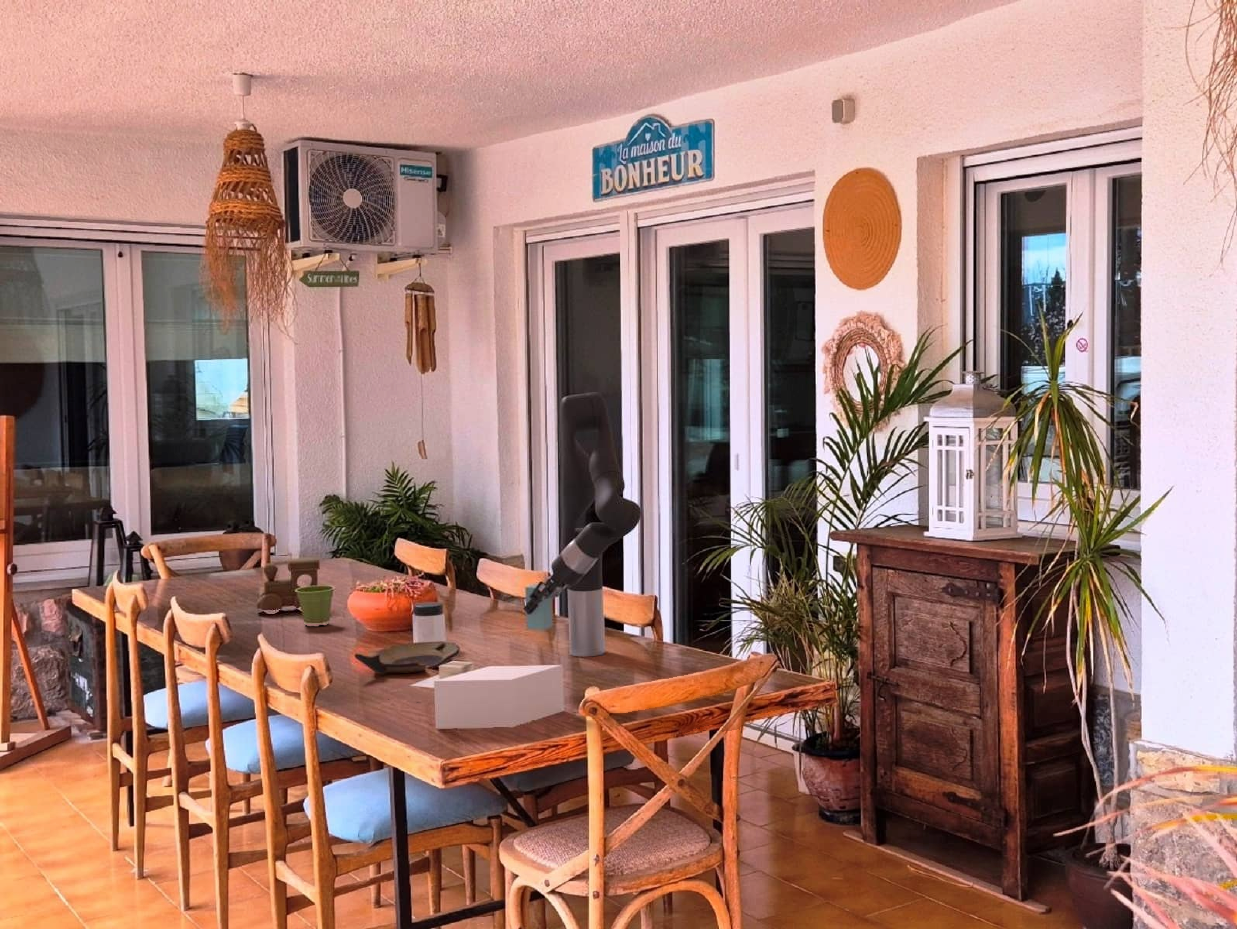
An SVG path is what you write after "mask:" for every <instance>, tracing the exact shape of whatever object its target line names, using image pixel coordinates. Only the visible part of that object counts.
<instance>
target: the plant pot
mask: <svg viewBox="0 0 1237 929" xmlns="http://www.w3.org/2000/svg"><path fill="white" fill-rule="evenodd" d="M307 586H308V585H307ZM307 586H301V587H302V588H298V589H296V590H295V592H297V595H298V599H299V601H300V606H301V610H302V612H301V615H302V619H303V623H304V622H306V623H323V622H327V621H329V622H330V619H331V608H332V601H333V600H332V598H333V594H334V590H336V587H335V586H334V585H318V586H308V587H307Z"/></svg>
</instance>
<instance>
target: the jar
mask: <svg viewBox="0 0 1237 929" xmlns="http://www.w3.org/2000/svg"><path fill="white" fill-rule="evenodd" d="M412 608H413V614H412V635H413V636H412V637H413V640H412V641H413V643H418V642H439V641H442V642H446V641H447V640H446V639H447V638H446V637H447V636H446V616H445V615H446V614H445V613H444V603H443V602H439V601H424V602H418V603H414V604H413V607H412Z"/></svg>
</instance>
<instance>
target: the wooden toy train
mask: <svg viewBox="0 0 1237 929" xmlns="http://www.w3.org/2000/svg"><path fill="white" fill-rule="evenodd" d="M286 561H287V569H288V571H289V572H290V578H283V579H275V578H276V576H277V573H278V571H279V568H278V567H277V565H276V564H275V563H273V562H270V563H266V565H265V566H264V568H263V570H262V571H263V573H264V575H265V577H266V579H267V580H264V581H263V592H262V593H261V594H260V596H259V598H258V599H257V601H256V608H257V609H258V610H260V609H261V611H262V610H276V609H277V610H278V609H281V610H282V609H283V608H285V607H294V608H295V607H296V608H299V607H301V606H300V601H299V599H298V595H297V592H295V590H296V589H298V588H302V587H303V586H300V585H299V584H298V580H299V578H300V577H302V576H303V575H306V576H309V577H311V578H310V579H311V580H310V583H309V584H308V585H307V586H306V587H308V586H319V585H318V582H319V579H318V570H320V567H321V566H320V564H321V563H320V558H319V557H301V558H292V559H291V558H289V559H287V560H286ZM296 608H295V609H296Z"/></svg>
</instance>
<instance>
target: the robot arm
mask: <svg viewBox="0 0 1237 929" xmlns="http://www.w3.org/2000/svg"><path fill="white" fill-rule="evenodd" d="M559 407H560V408H559V414H560V416H559V417H560V418H559V419H560V430H561V442H562V444H561V445H562V448H561V449H562V458H561V459H562V461H561V462H562V464H561V465H562V466H561V467H562V468H561V498H562V500H561V501H562V515H561V516H562V519H561V520H562V521H561V534H560V554H559V555H558V556H557V557H556V558H555V559H554V560H553V561H552V562H551V567H550V568H551V570H552V571H551V572H552V575H551V574H549V575H548V576H547V577H546V578H545V579H544V581H542V580H541V581H540V582H538V585H537V587H536V588H535V589H534V591H533V592H532V593H531V595H530V596H529V597H530V598H531V600H530V601H529V602H528V603H527V604H526V603H525V606H524V607H523V610H524V612H525V614H526V613H527V614H531V613H532V612H533V611H534V610H535V609H536V608H537V607H538V606H539V604H541V603H542V602H543V601H544V600H545V599H549V598H550V597H552V601H553V600H554V599H555V598H558V597H559V596H560V595H561V594H562V593H563V592H564V591H566V589H567V608H568V612H567V613H568V642H569V643H568V644H569V645H568V646H569V655H570V656H573V657H582V658H583V657H584V658H585V657H597V656H601V655H603V654H605V651H606V640H605V639H606V634H605V630H606V629H605V616H604V592H603V591H604V590H603V589H604V587H603V553H604V552H605V551H607V549H608V547H609V546H611V545H613V544H615V543H617V542H618V541H619V540H621V539H622V538H624V537H626V536H627V535H628V534H630V533H631V532H632V531H633V530H635V528H636V527H637V525H639V522H640V520H641V516H642V510H641V508H640V505H639V504H638V503H636V502H635V501H633V500H630V499H628V498H625V497H622V496H620V495H622V494H623V492H624V491H625V488H626V484H625V479H624V476H623V474H622V469H621V468H620V463H619V461H618V458H617V455H616V454H617V452H616V449H615V448H616V447H615V443H614V437H613V431H612V426H611V421H610V415H609V410H608V407H607V403H606V400H605V398H604V396H603V394H601V393H600V392H594V391H593V392H585V393H579V394H570V395H567V396H564V397H562V399H561V401H560V406H559ZM589 431H590V432H591V431H597V432H598V433H597V434H598V436H597V441H596V444H595V446H594V448H593V450H592V453H591V456H590V455H589V454H588V453H587V452H586V451H585V450H584V449H583V448H582V446H581V444H580V443H579V442H578V439H577V437H576V436H577V434H578V433H582V432H589ZM593 503H594V507H595V508H594V510H595V513H596V516H597V518H598V519H599V520H600V522H589V523H588V524H587V525H586V526H584V527H577V525H578V523H579V521H580V519H582V517H583V515H584V514H585V513H586V512H587V510H588V509H590V507H591V506H592V505H593ZM546 592H547V593H548V595H547V594H546Z"/></svg>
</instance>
